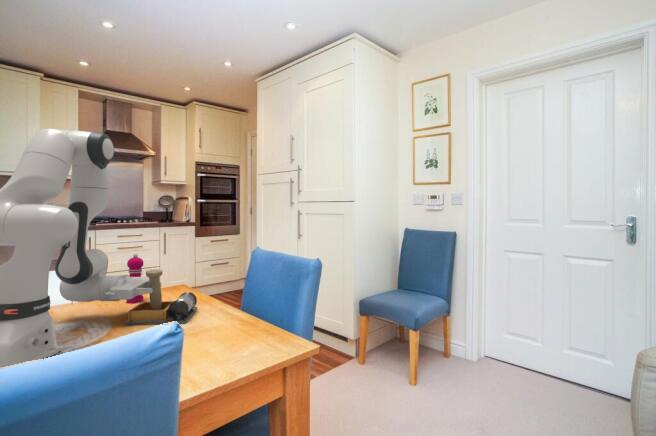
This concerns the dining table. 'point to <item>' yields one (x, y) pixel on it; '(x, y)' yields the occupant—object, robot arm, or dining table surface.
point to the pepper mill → (135, 274)
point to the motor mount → (163, 311)
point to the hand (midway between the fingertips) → (156, 287)
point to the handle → (155, 288)
